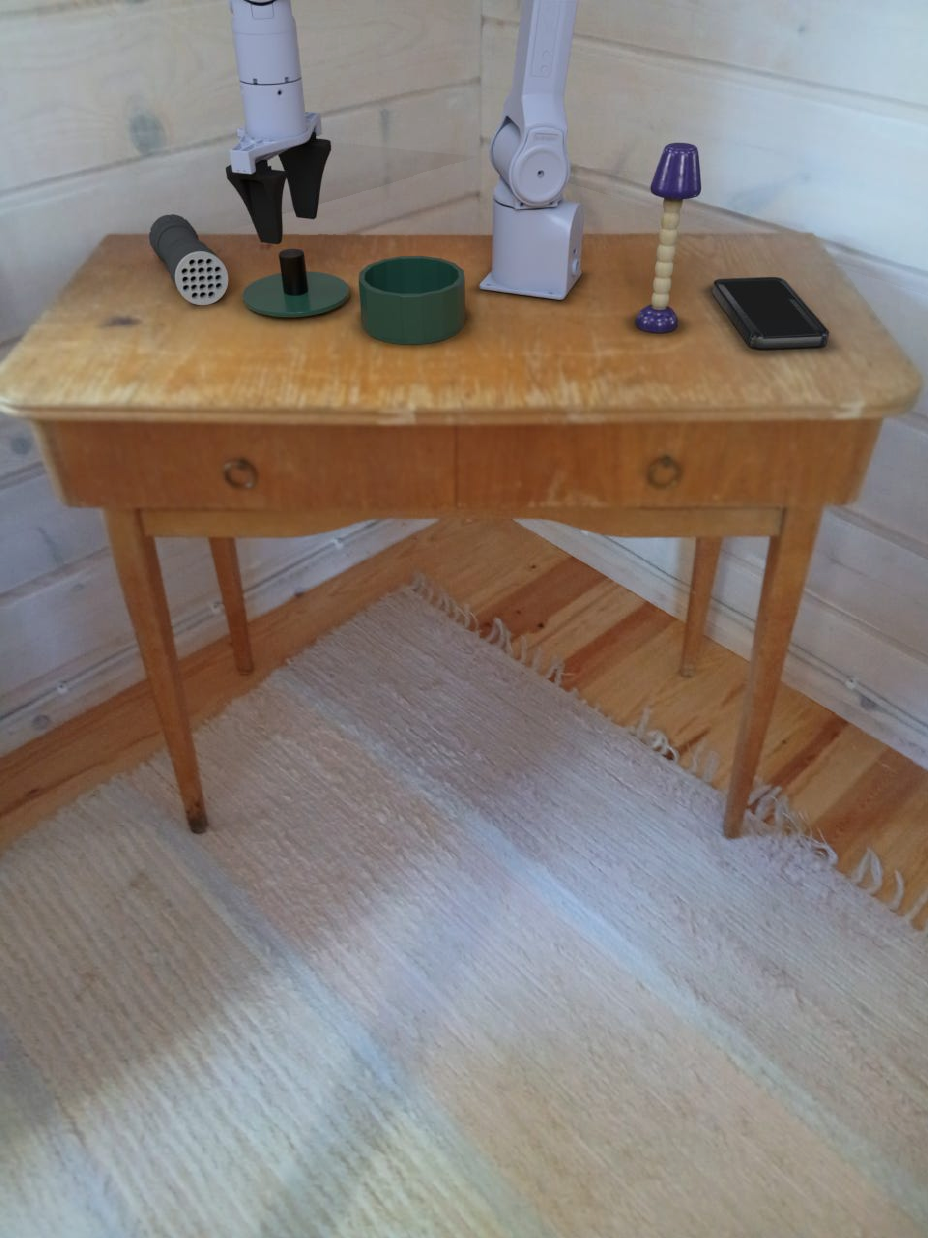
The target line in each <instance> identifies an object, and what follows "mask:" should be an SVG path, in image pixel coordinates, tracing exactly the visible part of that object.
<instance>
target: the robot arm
mask: <svg viewBox="0 0 928 1238" xmlns="http://www.w3.org/2000/svg"><path fill="white" fill-rule="evenodd" d="M228 4H229V10H230V13H231V14H232V19H231V21H230V27H231V33H232V42H233V48H234V55H235V62H236V69H237V75H238V83H239V90H240V95H241V102H242V109H243V116H244V123H245V124H243V125H242V126H240V127H238V128H237V129H236V135H237V137H238V138H240V139H239V140H238V141H237V143H236V145H235V146H233V147H232V148H230V149H228V153H229V159H230V164H229V165H227V166H226V167H225V174H226V180H227V181H228V182H229V183H230V184H231V185H232V187H233V188H234V189H235V191H236V192H237V194H238V195H239V197H240V198H241V200H242V202H243V204H244V206H245V207H246V210H247V212H248V214H249V217H250V219H251V221H252V224H253V226H254V229H255V232H256V234H257V236H258V239H259V241H260V243H262V244H264V243H265V244H271V245H280V244H281V243H282V242H283V236H284V235H283V234H284V223H283V197H284V190H285V185H286V181H287V184H288V185H287V186H288V189H289V195H290V201H291V205H292V208H293V212H294V214H295V217H296V218H299V219H307V220H315V219H316V218H318V217H317V216H318V211H319V202H320V194H321V185H322V180H323V175H324V172H325V167H326V164H327V161H328V158H329V156H330V154H331V151H332V142H331V140H330V139H325V138H318V137H319V136H321V135H322V134H323V128H322V116H321V113H320V112H311V111H306V106H305V105H306V104H305V95H304V85H303V77H302V69H301V68H302V67H301V59H300V51H299V40H298V32H297V31H298V30H297V21H296V19H295V17H294V16H293V11H292V1H291V0H228ZM578 4H579V0H522V3H521V12H520V19H519V28H518V34H517V35H518V36H517V42H516V43H517V44H516V52H515V61H514V68H513V77H512V86H511V89H510V91H509V93H508V95H507V96H506V98H505V101H504V103H503V107H502V115H501V120H500V122H499V125H498V126H497V128H496V129H495V131H494V133H493V134H492V137H491V140H490V144H489V159H490V163H491V165H492V167H493V170H494V171H495V172H496V173H497V174H498V175H499V176H498V177H499V178H498V180H497V182H496V183H497V184H496V185H495V187H494V189H493V192H492V196H493V197H492V243H491V244H492V248H491V250H492V251H491V254H492V255H491V271H490V272H489V273H488V274H487V275H486V277H484V279H482V281H481V282H480V283H479V289H480V290H485V291H493V292H497V293H498V292H500V293H506V294H514V295H520V296H529V297H534V298H535V297H536V298H544V299H549V300H550V299H551V300H558V301H562V300H564V299H565V298H566V297H567V295H568V294H569V293H570V291H571V289H572V288H573V287H574V286H575V284H576V282H578V280H579V278H580V277H581V276H582V270H581V265H582V263H581V262H582V252H583V251H582V250H583V238H584V237H583V236H584V223H585V213H584V205H582V203H579V202H575V201H570V200H568V199H566V198H565V197H563V192H565V191H564V190H566V188H567V186H568V184H569V180H570V178H571V160H570V157H569V154H568V151H567V150H568V149H567V139H568V132H569V131H568V130H569V126H568V119H567V113H566V108H565V102H564V101H565V100H564V95H565V89H566V83H567V76H568V70H569V62H570V57H571V49H572V43H573V39H574V38H573V37H574V31H575V24H576V17H577V11H578V6H579V5H578ZM277 156H278V158H279V160H280V163H281V166H282V168H283V170H278V169H272V165H269V163H268V162H269V161H270V160H271V159H274V158H275V157H277Z"/></svg>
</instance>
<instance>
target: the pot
mask: <svg viewBox="0 0 928 1238" xmlns="http://www.w3.org/2000/svg"><path fill="white" fill-rule="evenodd" d="M465 276H466V275H465V270H464V269H463V268H462V267H460V266H459V265H458V264H457V263H455V262H452V261H450V260H446V259H444V258H440V257H434V256H426V255H400V256H396V257H395V256H394V257H389V258H383V259H379V260H378V261H375V262H372V263H370V264H368V265H366V266H365V267H364V268H363V269H362V270H361V271H359V273H358V293H359V304H360V316H361V317H360V318H361V325H362V328H363V331H365V333H366V334H368V335H369V336H370V337H372V338H374V339H376V340H379V341H382V342H385V343H390V344H396V345H405V346H406V345H408V346H412V345H413V346H416V345H417V346H418V345H428V344H433V343H438V342H440V341H445V340H447V339H450V338H452V337H454V336H456V335H457V334H458V333H460V332H461V331H462V329H463V328H464V326H465V322H466V281H465V280H466V278H465Z"/></svg>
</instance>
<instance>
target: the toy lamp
mask: <svg viewBox="0 0 928 1238" xmlns="http://www.w3.org/2000/svg"><path fill="white" fill-rule="evenodd" d="M652 177H653V178H652V180H651V183H650V188H649V190H650V192H651V194H652V195H654V196H656V197H658V198H659V197H660V198H662V199H663V202H662V206H663V212H662V214H661V218H660V224H661V228H660V230H659V234H658V241H659V244H658V245H657V248H656V259H657V261H656V262H655V265H654V275H655V276H654V279H653V282H652V289H653V293H652V295H651V298H650V303H651V304H649V305H646V306H644V307H643V308H641V310H640V311H639V312H638V314H637V316H636V318H635V322H634V323H635V326H636V327H637V328H638V329H640V330H641V331H645V332H650V333H656V334H657V333H667V332H672V331H674V330H675V329H676V330H677V328H678V325H679V320H678V316H677V314H676V312H675V310H674V309H673V308H672V307H670V306H669V303H670V293H669V292H670V290H671V288H672V277H671V276H672V274H673V272H674V261H673V260H674V259H675V256H676V245H675V244H676V242H677V240H678V237H679V231H678V227H679V225H680V221H681V213H680V210H681V209H682V208H683V207H682V206H683V204H684V203H683V201H684V200H690V199H694V198H697V197H699V196H700V194H701V192H702V179H701V168H700V156H699V150H698V146H696V145H695V144H692V143H688V142H670V143H668V144H666V145H665V147H663V150H662V153H661V155H660V158H659V160H658V164H657V166H656V169H655V171H654V174H653V176H652Z"/></svg>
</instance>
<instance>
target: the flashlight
mask: <svg viewBox="0 0 928 1238" xmlns="http://www.w3.org/2000/svg"><path fill="white" fill-rule="evenodd" d="M148 240H149V245H150V246H151V248H152V250H153V252H154V253H155V255H156V256H157V257H158V259H159V260H160V261H161V262H162V263H165V265H166V270H167V272H168V273H169V276H170V278H171V281H172V284H173V285H174V287H175V288H176V289H177V291H178V292H179V294H180V295H181V296H182V297H183V298H184V300H186V301H187V302H189V303H191V304H194V305H197V306H206V305H212V304H215V303H216V302H217V301H219V300H220V299H221V298H222V297H223V296H224V294H226V291H227V289H228V285H229V274H228V273H229V272H228V270H227V267H226V265H225V264H224V263H223V262H222V260H221V259H220V258H219V256H218V255H217V254H216V252H214V251H213V250H212V249H211V248H210V247H208V245H206V243H204V242H203V241H201V240H200V238H199V235H198V232H197V231H196V229H195V228H194V227H193V225H192V224H191V223H190V222H189V221H188V220H187V219H186V218H185V217H183V216H181V215H178V214H173V213H171V214H164V215H161V216H160V217H158V218H157V219H156V220H155V221H154V222H153V223H152V224H151V227H150V229H149V233H148Z"/></svg>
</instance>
